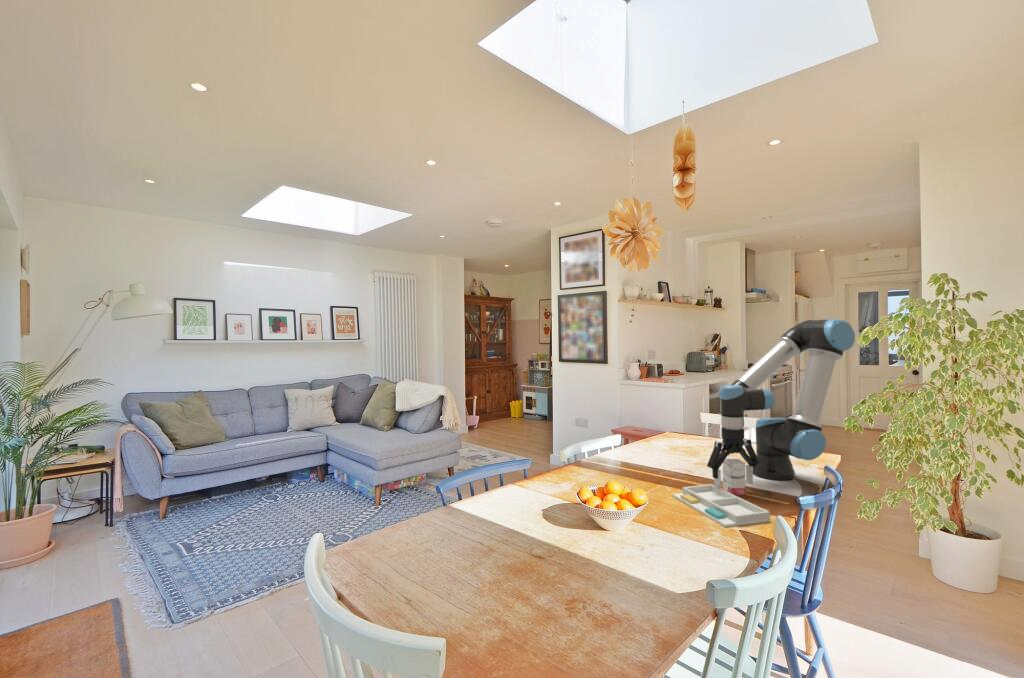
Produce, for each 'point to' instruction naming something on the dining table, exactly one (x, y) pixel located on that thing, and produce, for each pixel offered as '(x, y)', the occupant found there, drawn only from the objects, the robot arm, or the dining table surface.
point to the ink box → (734, 476)
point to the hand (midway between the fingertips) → (733, 485)
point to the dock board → (722, 505)
